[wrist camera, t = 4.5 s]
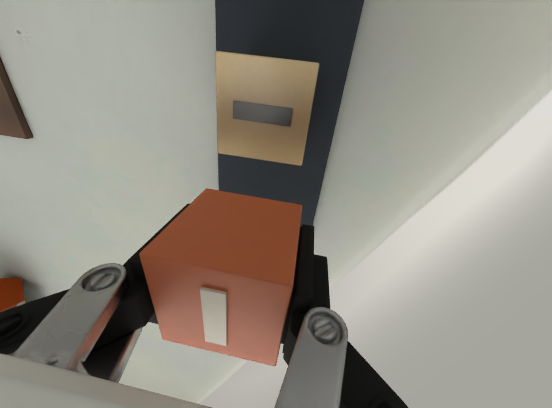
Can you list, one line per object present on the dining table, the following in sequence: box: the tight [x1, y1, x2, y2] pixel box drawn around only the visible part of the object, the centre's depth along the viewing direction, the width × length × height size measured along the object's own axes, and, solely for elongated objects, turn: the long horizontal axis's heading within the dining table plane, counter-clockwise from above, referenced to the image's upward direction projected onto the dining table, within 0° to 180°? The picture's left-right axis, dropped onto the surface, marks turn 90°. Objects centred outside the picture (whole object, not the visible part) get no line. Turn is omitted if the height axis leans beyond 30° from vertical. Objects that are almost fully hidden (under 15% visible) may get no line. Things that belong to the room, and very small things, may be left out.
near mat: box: [215, 0, 364, 227], centre depth 15 cm, size 18×8×1 cm, turn 174°
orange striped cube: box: [139, 189, 302, 366], centre depth 9 cm, size 4×4×5 cm
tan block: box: [216, 51, 319, 166], centre depth 12 cm, size 4×4×5 cm
